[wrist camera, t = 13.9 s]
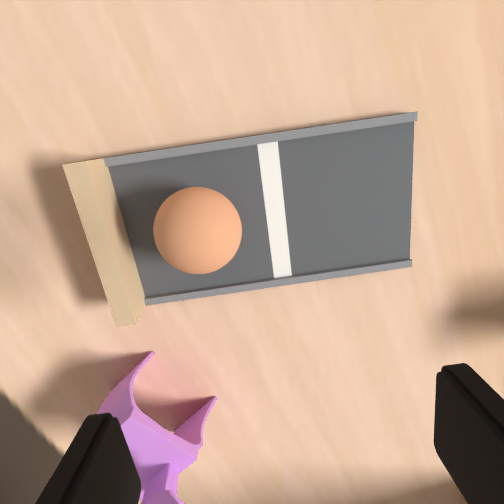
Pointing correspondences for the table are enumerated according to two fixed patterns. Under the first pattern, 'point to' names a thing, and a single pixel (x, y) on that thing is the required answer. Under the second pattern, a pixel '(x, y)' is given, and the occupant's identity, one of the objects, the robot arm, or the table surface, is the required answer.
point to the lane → (254, 209)
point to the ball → (197, 230)
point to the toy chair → (155, 441)
